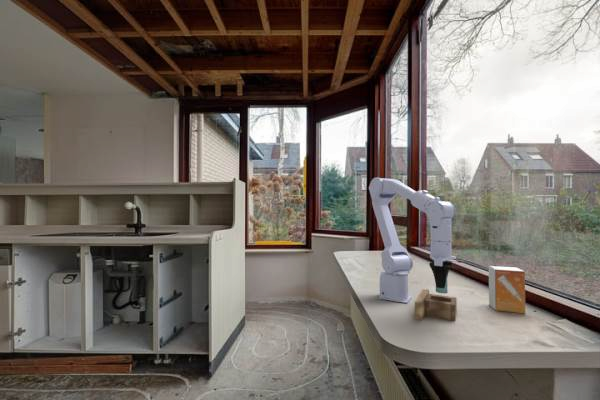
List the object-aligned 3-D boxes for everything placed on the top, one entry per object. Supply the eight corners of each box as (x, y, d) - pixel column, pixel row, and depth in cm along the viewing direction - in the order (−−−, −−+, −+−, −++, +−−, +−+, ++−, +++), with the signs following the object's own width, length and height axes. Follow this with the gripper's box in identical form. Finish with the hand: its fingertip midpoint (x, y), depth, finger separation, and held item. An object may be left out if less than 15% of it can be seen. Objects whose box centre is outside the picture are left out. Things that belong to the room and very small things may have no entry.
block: (424, 315, 85) (424, 300, 85) (428, 307, 91) (428, 293, 92) (455, 321, 80) (455, 304, 81) (456, 312, 87) (456, 297, 87)
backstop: (414, 318, 82) (414, 301, 82) (422, 304, 95) (422, 289, 95) (422, 320, 81) (422, 302, 81) (429, 305, 94) (429, 290, 94)
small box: (495, 311, 89) (494, 269, 89) (488, 304, 95) (488, 265, 95) (526, 314, 86) (525, 270, 87) (517, 307, 92) (516, 267, 93)
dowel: (435, 292, 85) (434, 268, 85) (436, 289, 87) (436, 266, 88) (447, 294, 83) (446, 270, 83) (447, 291, 86) (447, 268, 86)
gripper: (454, 244, 77) (454, 294, 77) (457, 239, 90) (457, 282, 89) (426, 242, 81) (426, 290, 81) (432, 238, 93) (433, 279, 93)
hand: (441, 286), depth 85 cm, fingers closed on dowel, 3 cm apart
